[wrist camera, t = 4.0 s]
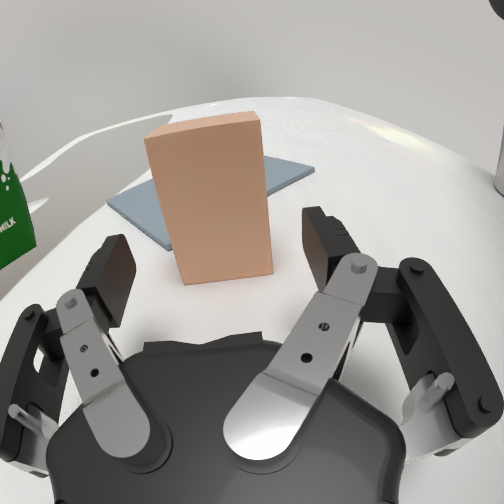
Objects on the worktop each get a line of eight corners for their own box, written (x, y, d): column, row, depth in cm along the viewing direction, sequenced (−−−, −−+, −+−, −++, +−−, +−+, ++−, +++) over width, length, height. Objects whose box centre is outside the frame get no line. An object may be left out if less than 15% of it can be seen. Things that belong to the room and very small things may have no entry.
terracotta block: (273, 274, 19) (260, 119, 13) (184, 285, 19) (143, 138, 13) (266, 244, 22) (253, 110, 16) (188, 254, 22) (158, 126, 16)
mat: (227, 152, 43) (227, 148, 43) (314, 171, 33) (314, 167, 33) (107, 204, 32) (106, 200, 32) (168, 251, 23) (166, 245, 22)
